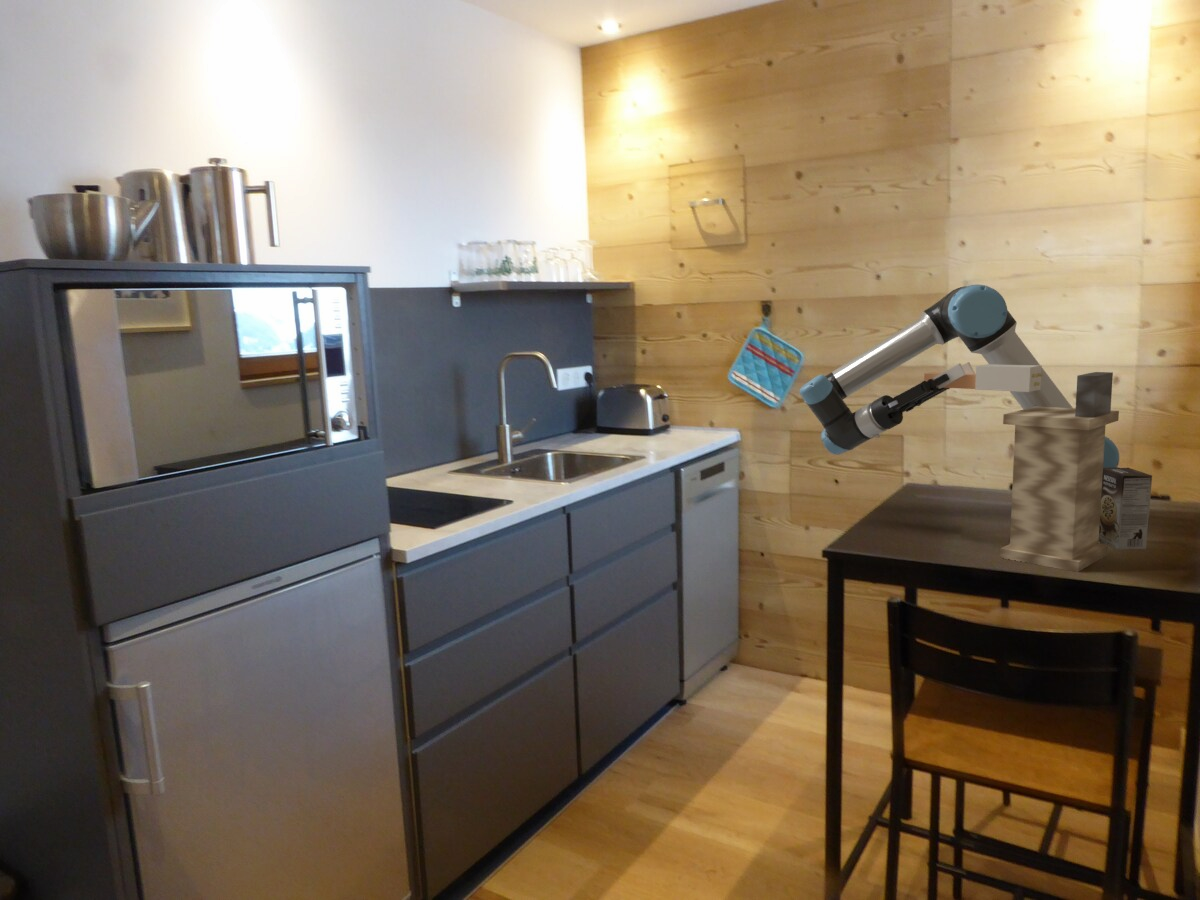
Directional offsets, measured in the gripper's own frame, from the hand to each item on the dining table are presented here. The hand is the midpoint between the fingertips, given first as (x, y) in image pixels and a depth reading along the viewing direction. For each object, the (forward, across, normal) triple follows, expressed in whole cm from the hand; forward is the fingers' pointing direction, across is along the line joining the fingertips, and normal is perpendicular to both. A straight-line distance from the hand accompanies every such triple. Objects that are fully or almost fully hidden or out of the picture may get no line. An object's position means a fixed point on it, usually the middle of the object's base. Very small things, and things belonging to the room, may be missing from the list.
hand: (966, 368), depth 189 cm
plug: (+1, 0, -5) cm, 5 cm away
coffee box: (+4, -19, -47) cm, 51 cm away
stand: (-2, 0, -43) cm, 43 cm away
